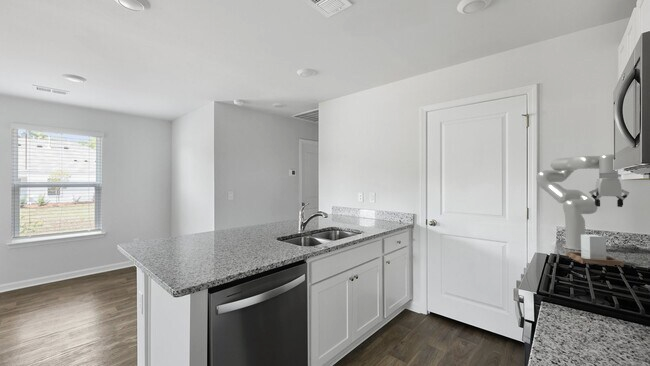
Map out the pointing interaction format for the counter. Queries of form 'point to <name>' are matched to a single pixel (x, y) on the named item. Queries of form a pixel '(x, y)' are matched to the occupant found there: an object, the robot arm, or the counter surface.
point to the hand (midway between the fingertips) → (608, 206)
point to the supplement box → (593, 247)
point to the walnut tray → (595, 260)
